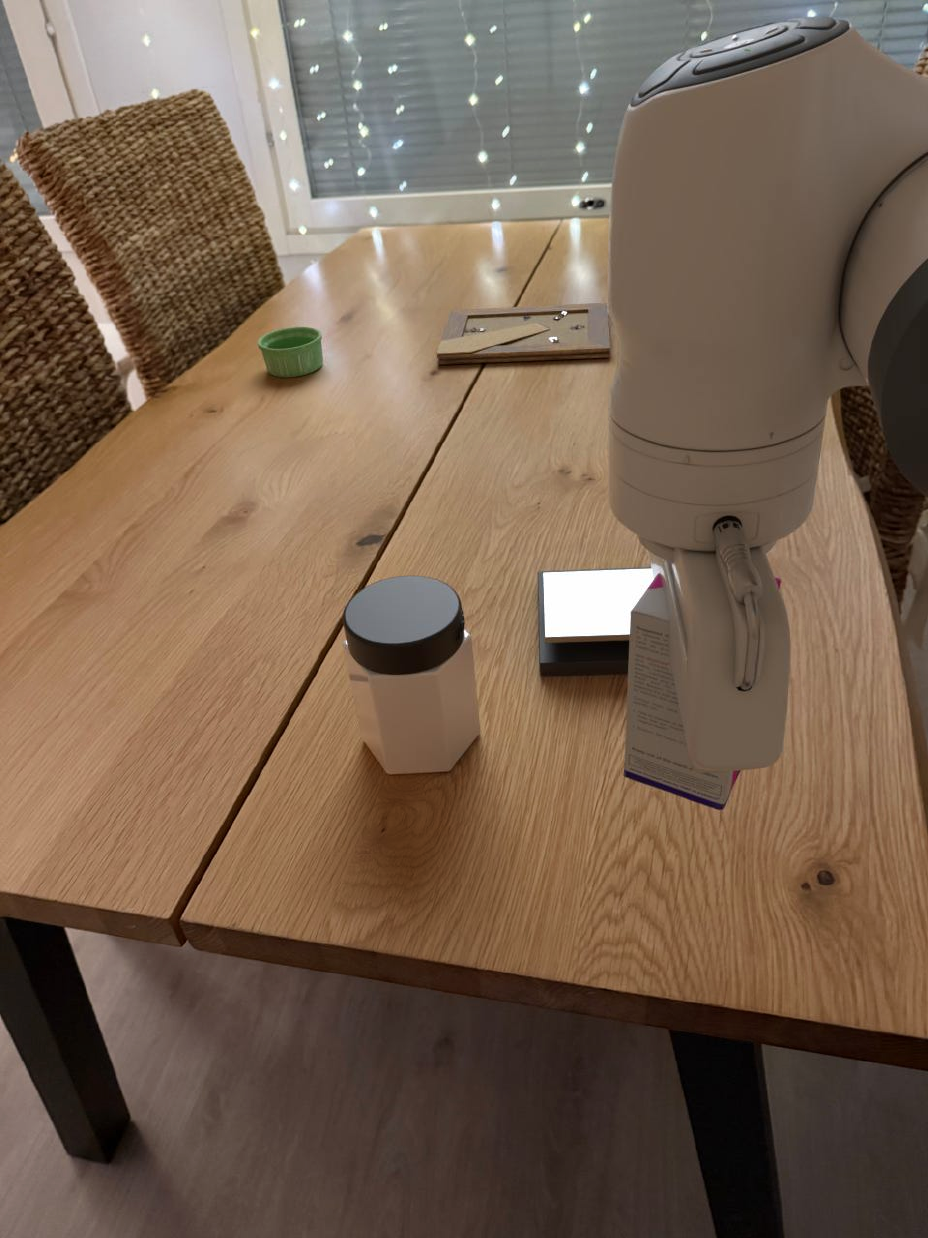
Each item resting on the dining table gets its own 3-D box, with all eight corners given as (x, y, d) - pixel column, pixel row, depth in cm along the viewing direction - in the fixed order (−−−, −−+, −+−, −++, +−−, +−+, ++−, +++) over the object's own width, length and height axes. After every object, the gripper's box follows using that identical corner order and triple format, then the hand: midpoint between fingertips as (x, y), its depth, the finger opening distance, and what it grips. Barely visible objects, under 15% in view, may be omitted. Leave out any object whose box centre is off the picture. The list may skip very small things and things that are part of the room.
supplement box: (727, 815, 48) (745, 642, 41) (621, 778, 50) (621, 610, 44) (761, 743, 51) (783, 573, 45) (661, 712, 54) (667, 548, 47)
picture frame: (437, 366, 128) (609, 358, 125) (436, 353, 127) (610, 345, 124) (452, 319, 143) (606, 312, 140) (451, 308, 142) (606, 300, 138)
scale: (725, 575, 83) (728, 546, 81) (754, 670, 72) (758, 640, 70) (538, 582, 84) (536, 554, 82) (540, 676, 74) (538, 647, 72)
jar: (498, 749, 67) (488, 619, 60) (399, 796, 65) (375, 665, 57) (441, 683, 74) (425, 558, 67) (348, 723, 71) (321, 597, 64)
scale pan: (660, 573, 78) (661, 567, 78) (674, 639, 71) (675, 633, 71) (543, 578, 79) (543, 572, 79) (545, 643, 72) (544, 637, 72)
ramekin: (332, 354, 135) (327, 324, 132) (319, 378, 128) (313, 347, 125) (273, 356, 136) (267, 327, 133) (256, 381, 129) (249, 350, 126)
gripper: (853, 602, 32) (803, 860, 40) (740, 371, 48) (722, 588, 56) (666, 610, 32) (655, 863, 40) (618, 380, 49) (617, 593, 57)
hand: (694, 701), depth 48 cm, fingers closed on supplement box, 7 cm apart
